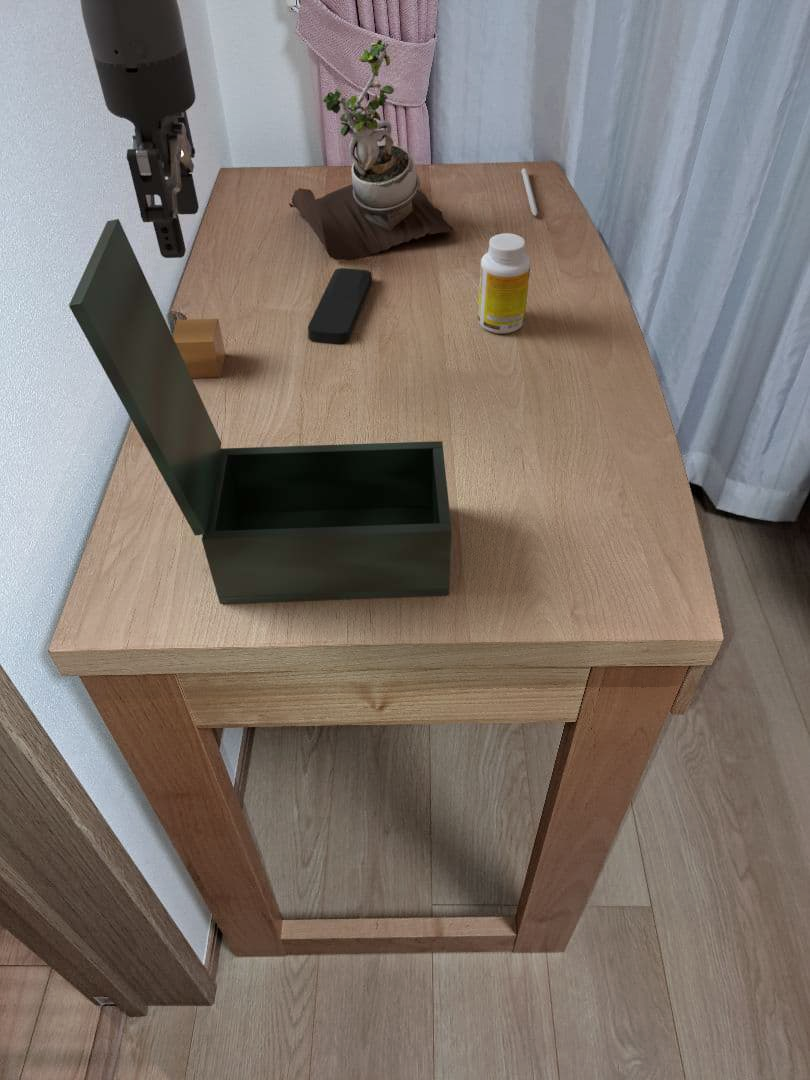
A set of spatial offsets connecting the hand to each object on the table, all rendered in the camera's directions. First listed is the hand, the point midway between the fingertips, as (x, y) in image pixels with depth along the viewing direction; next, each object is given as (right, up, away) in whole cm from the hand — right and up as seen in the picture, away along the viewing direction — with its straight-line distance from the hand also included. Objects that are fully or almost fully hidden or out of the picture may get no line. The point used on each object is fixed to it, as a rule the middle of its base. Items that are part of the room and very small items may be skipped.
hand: (181, 233), depth 79 cm
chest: (+15, -31, -6) cm, 35 cm away
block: (-1, -10, +14) cm, 17 cm away
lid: (+4, -18, -20) cm, 27 cm away
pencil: (+40, +21, +42) cm, 62 cm away
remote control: (+14, -1, +22) cm, 26 cm away
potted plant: (+16, +15, +37) cm, 43 cm away
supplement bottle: (+33, -4, +19) cm, 38 cm away
